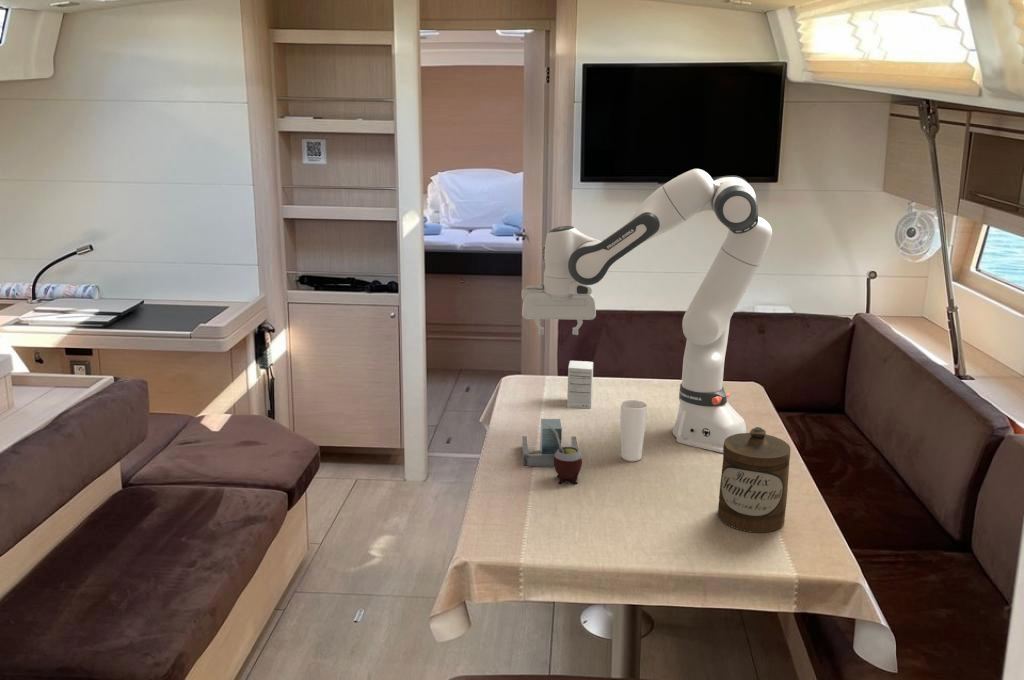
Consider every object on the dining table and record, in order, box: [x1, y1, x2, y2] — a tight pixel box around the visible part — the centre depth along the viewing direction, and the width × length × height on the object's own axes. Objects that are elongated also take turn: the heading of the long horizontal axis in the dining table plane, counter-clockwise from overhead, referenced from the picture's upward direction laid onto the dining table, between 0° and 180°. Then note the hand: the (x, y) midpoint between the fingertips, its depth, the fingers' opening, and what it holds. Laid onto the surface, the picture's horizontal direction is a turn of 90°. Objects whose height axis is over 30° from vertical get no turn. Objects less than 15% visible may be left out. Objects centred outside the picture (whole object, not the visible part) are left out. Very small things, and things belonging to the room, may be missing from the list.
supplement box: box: [566, 360, 594, 409], centre depth 288 cm, size 7×7×13 cm
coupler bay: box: [521, 435, 580, 468], centre depth 250 cm, size 13×14×3 cm
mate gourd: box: [546, 424, 583, 485], centre depth 234 cm, size 8×8×15 cm
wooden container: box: [717, 426, 791, 533], centre depth 215 cm, size 15×15×22 cm
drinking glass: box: [619, 399, 648, 462], centre depth 248 cm, size 7×7×15 cm
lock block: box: [539, 418, 563, 454], centre depth 250 cm, size 8×5×9 cm, turn 1°
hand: (558, 334), depth 264 cm, fingers open, 8 cm apart
